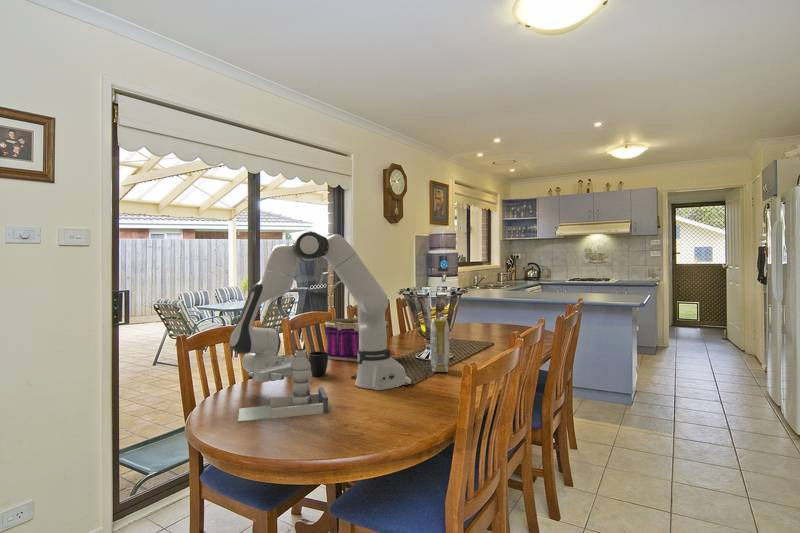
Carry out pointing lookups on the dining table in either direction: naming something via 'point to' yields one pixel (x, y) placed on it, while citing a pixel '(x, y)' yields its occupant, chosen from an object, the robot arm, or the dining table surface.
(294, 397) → the plastic bottle
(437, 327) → the juice carton
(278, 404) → the channel
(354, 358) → the basket
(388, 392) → the dining table surface
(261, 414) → the pad
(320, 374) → the mug
